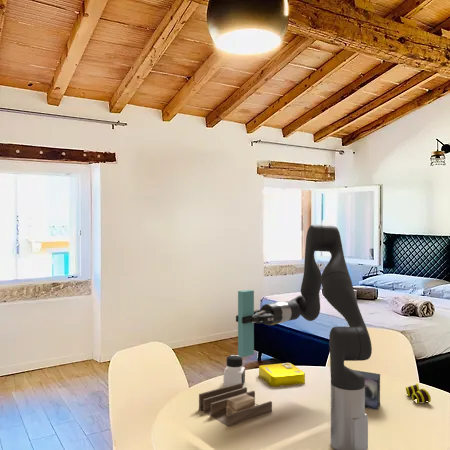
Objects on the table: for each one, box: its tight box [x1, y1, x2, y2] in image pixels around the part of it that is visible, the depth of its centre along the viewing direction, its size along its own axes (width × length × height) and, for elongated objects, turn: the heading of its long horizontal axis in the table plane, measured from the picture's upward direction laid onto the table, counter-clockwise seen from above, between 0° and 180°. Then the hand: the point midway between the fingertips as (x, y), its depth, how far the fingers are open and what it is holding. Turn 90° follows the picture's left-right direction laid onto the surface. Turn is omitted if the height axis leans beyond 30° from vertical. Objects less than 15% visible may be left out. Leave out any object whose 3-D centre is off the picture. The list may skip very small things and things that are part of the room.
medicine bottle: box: [223, 354, 246, 387], centre depth 167 cm, size 7×7×12 cm
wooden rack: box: [198, 382, 273, 427], centre depth 143 cm, size 16×18×6 cm
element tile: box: [258, 362, 306, 388], centre depth 178 cm, size 15×15×5 cm
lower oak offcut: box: [226, 403, 257, 415], centre depth 140 cm, size 5×9×2 cm, turn 128°
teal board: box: [237, 289, 255, 358], centre depth 150 cm, size 2×5×22 cm, turn 129°
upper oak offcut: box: [227, 394, 256, 412], centre depth 140 cm, size 5×8×2 cm, turn 128°
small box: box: [354, 369, 381, 410], centre depth 153 cm, size 11×6×10 cm, turn 62°
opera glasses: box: [405, 382, 432, 404], centre depth 157 cm, size 10×5×5 cm, turn 1°
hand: (239, 319), depth 148 cm, fingers closed on teal board, 2 cm apart
